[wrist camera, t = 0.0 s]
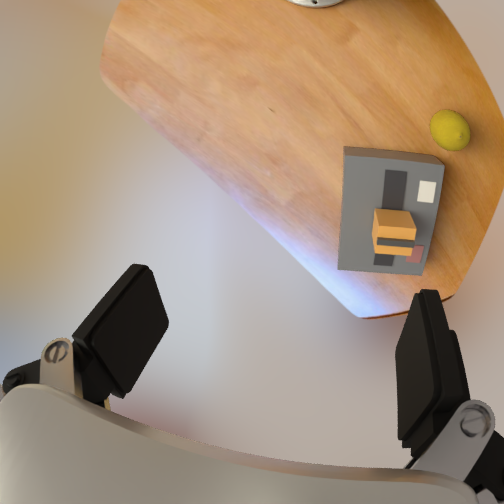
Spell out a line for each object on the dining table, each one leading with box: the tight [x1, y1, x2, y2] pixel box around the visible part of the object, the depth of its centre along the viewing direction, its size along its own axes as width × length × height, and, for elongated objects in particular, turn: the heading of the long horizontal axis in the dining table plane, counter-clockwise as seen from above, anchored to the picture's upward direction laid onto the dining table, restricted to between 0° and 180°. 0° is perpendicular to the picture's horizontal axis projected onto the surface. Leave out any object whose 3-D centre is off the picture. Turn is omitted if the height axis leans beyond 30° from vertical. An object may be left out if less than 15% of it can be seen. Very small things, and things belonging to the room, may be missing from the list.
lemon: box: [430, 110, 470, 151], centre depth 31 cm, size 6×6×8 cm
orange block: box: [372, 208, 417, 256], centre depth 37 cm, size 4×5×6 cm
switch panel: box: [338, 147, 445, 276], centre depth 42 cm, size 18×14×5 cm
